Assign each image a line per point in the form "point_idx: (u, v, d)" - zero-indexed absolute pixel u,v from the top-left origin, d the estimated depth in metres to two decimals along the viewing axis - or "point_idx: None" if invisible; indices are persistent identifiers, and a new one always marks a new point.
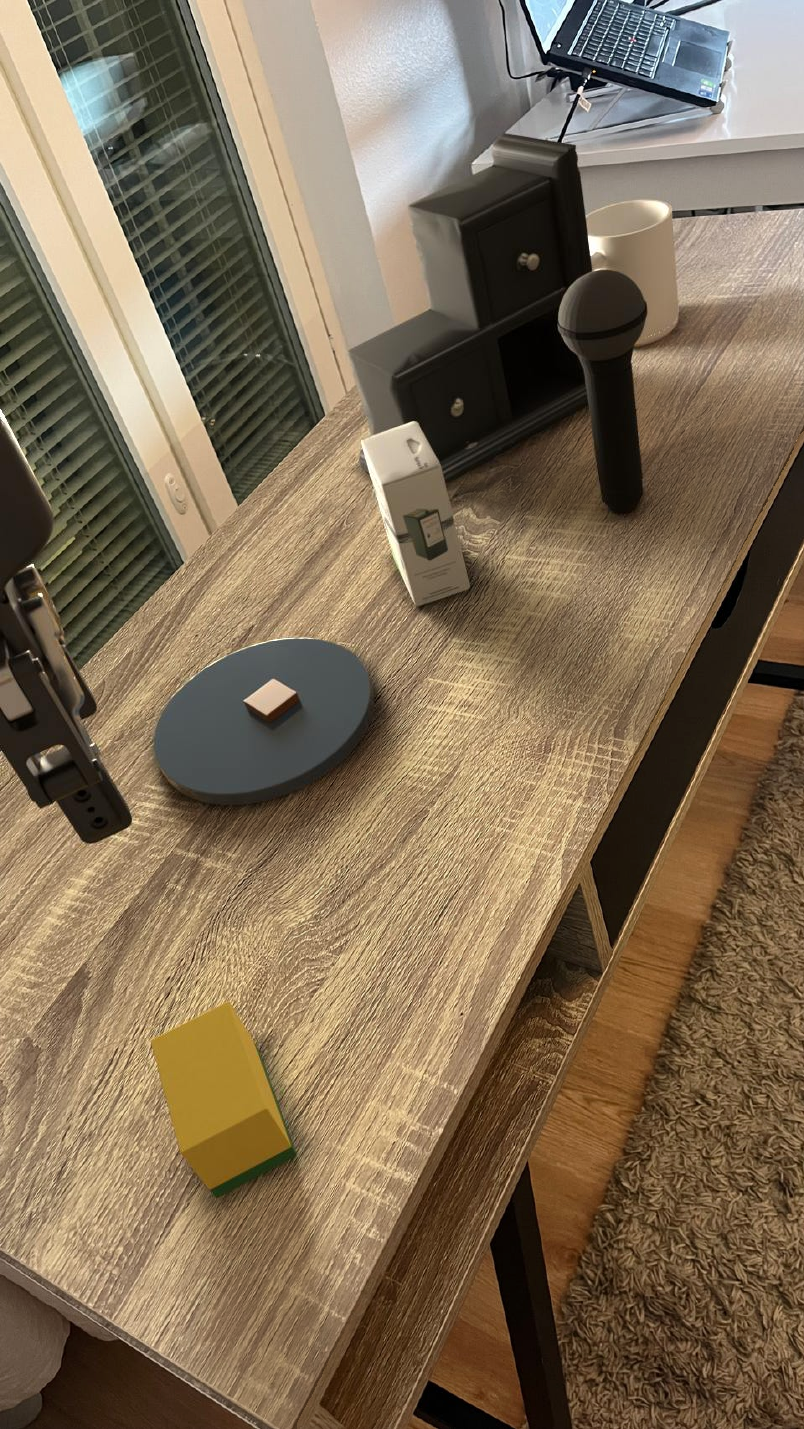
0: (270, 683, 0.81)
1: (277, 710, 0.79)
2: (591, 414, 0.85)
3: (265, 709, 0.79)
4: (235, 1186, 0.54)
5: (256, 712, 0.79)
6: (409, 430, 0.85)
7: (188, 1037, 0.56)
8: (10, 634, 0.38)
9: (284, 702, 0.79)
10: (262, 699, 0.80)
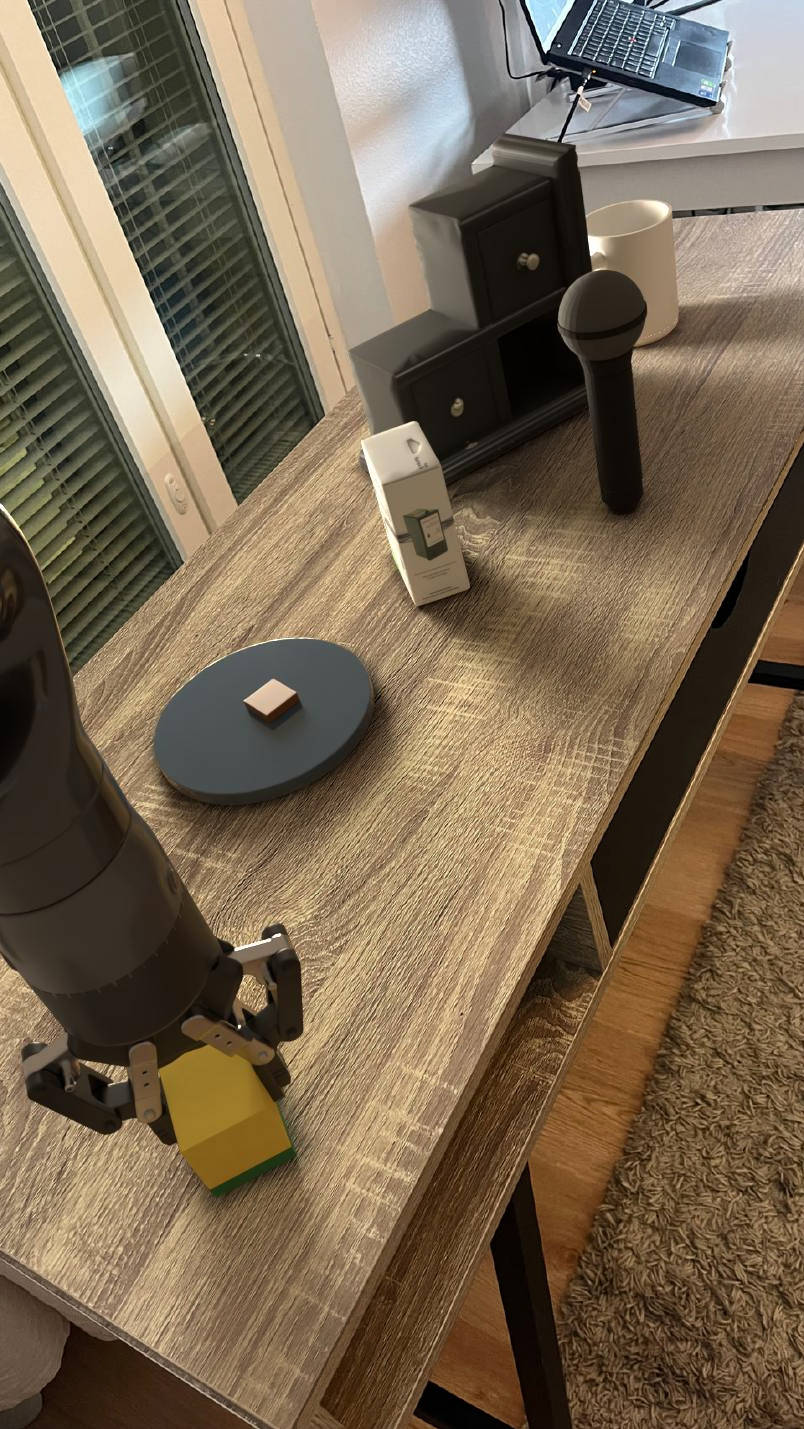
0: (270, 683, 0.81)
1: (277, 710, 0.79)
2: (591, 414, 0.85)
3: (265, 709, 0.79)
4: (235, 1186, 0.54)
5: (256, 712, 0.79)
6: (409, 430, 0.85)
7: None
8: (68, 1045, 0.48)
9: (284, 702, 0.79)
10: (262, 699, 0.80)
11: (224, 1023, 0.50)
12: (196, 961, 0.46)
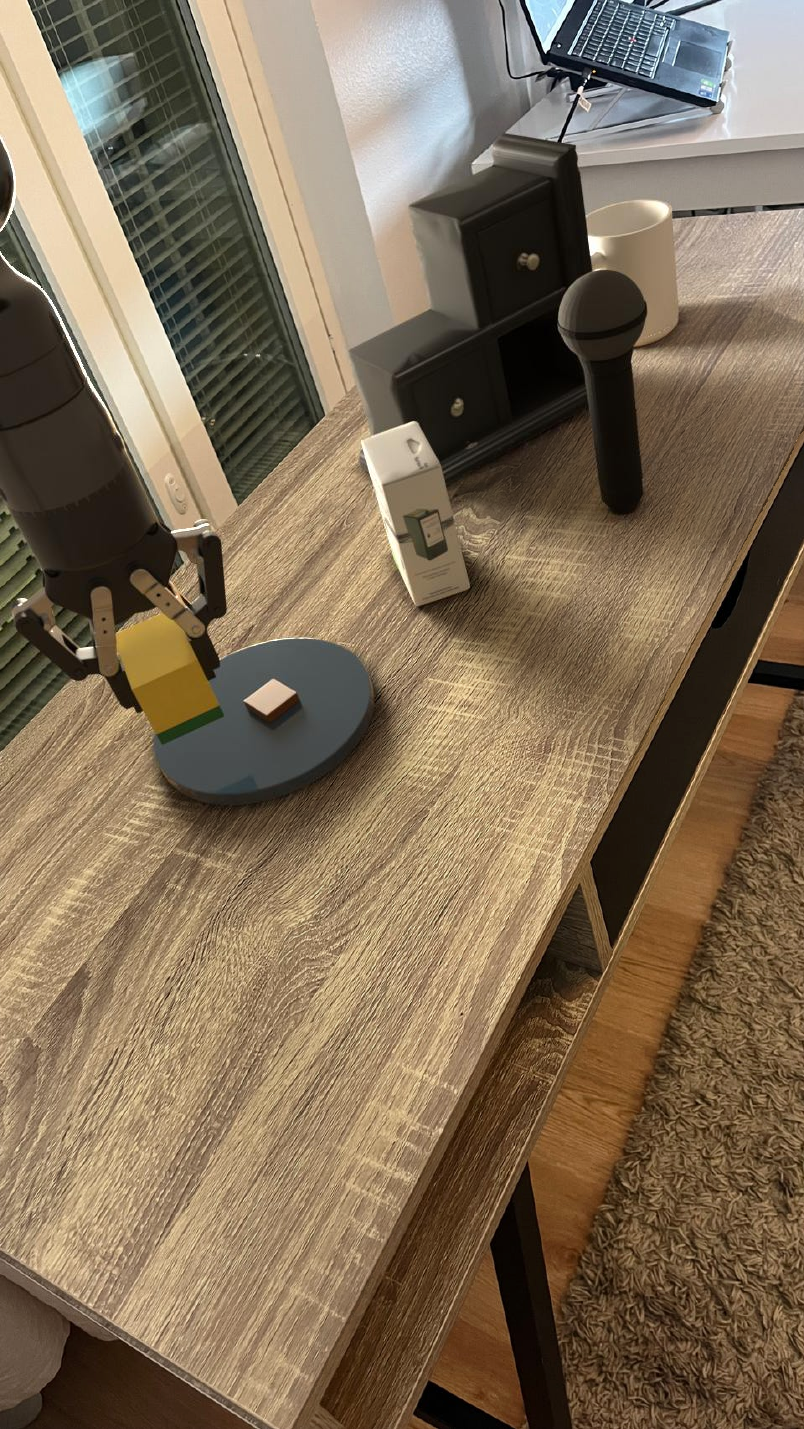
0: (270, 683, 0.81)
1: (277, 710, 0.79)
2: (591, 414, 0.85)
3: (265, 709, 0.79)
4: (176, 736, 0.71)
5: (256, 712, 0.79)
6: (409, 430, 0.85)
7: (141, 630, 0.72)
8: (46, 589, 0.65)
9: (284, 702, 0.79)
10: (262, 699, 0.80)
11: (163, 586, 0.67)
12: (138, 510, 0.62)
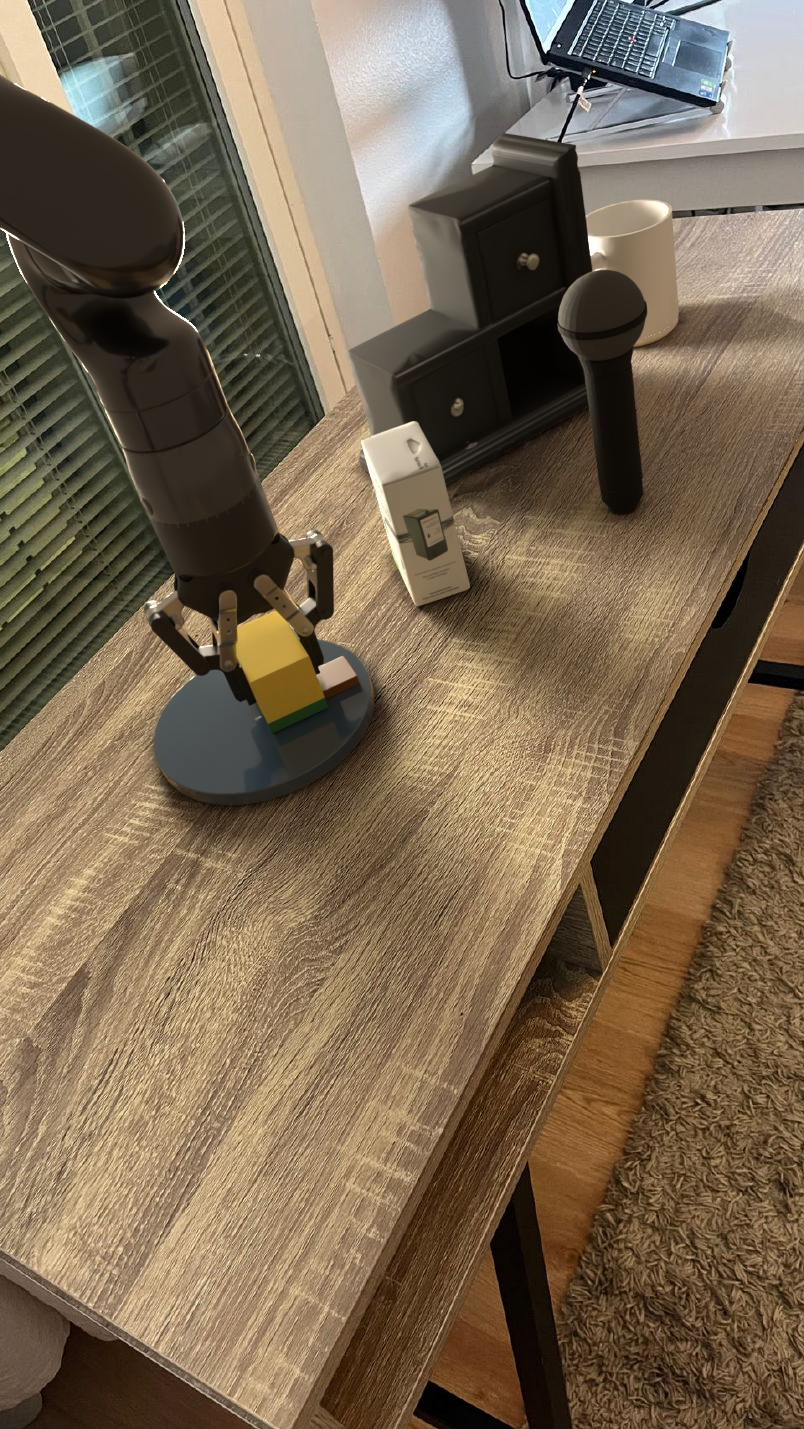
0: (338, 659, 0.81)
1: (333, 689, 0.79)
2: (591, 414, 0.85)
3: (323, 685, 0.79)
4: (285, 725, 0.78)
5: None
6: (409, 430, 0.85)
7: (251, 629, 0.79)
8: (178, 592, 0.72)
9: (342, 683, 0.79)
10: (325, 674, 0.80)
11: (281, 590, 0.74)
12: (266, 522, 0.69)
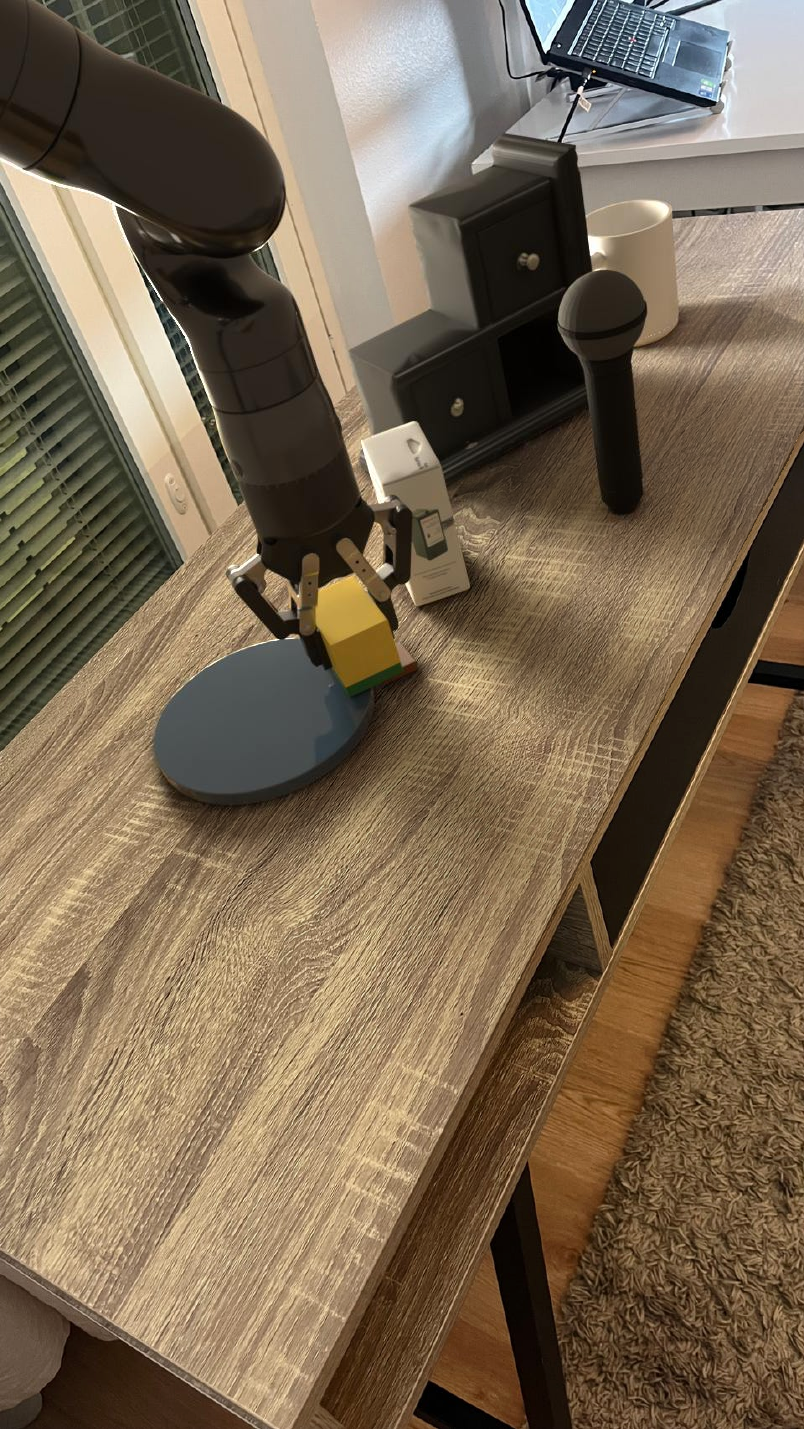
0: (396, 646, 0.83)
1: None
2: (591, 414, 0.85)
3: None
4: (362, 689, 0.79)
5: None
6: (409, 430, 0.85)
7: (326, 595, 0.80)
8: (262, 556, 0.73)
9: None
10: None
11: (361, 554, 0.75)
12: (351, 484, 0.70)
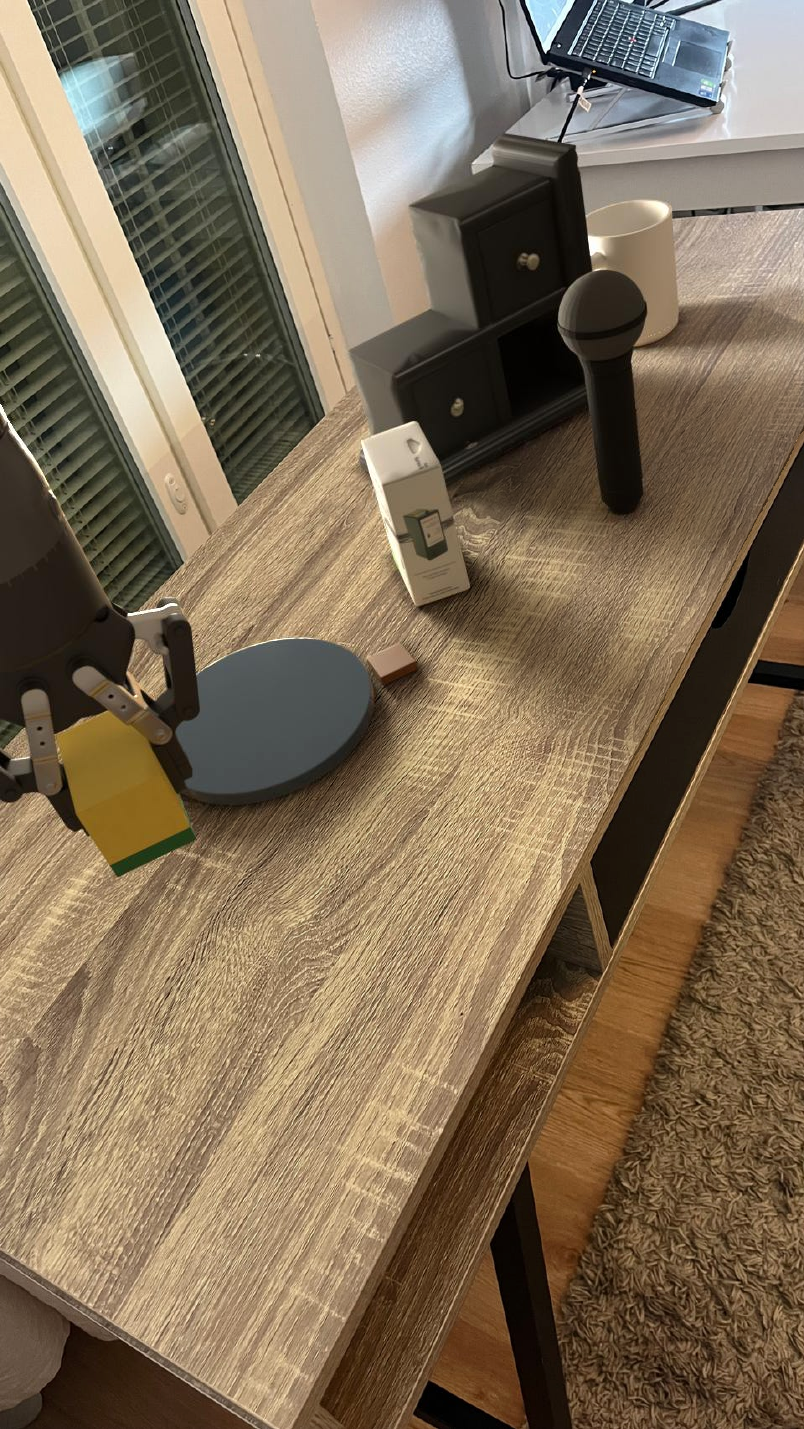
0: (396, 646, 0.83)
1: (393, 674, 0.81)
2: (591, 414, 0.85)
3: (382, 671, 0.81)
4: (135, 866, 0.56)
5: (374, 671, 0.82)
6: (409, 430, 0.85)
7: (92, 730, 0.57)
8: None
9: (401, 668, 0.81)
10: (383, 660, 0.82)
11: (117, 684, 0.52)
12: (80, 594, 0.48)
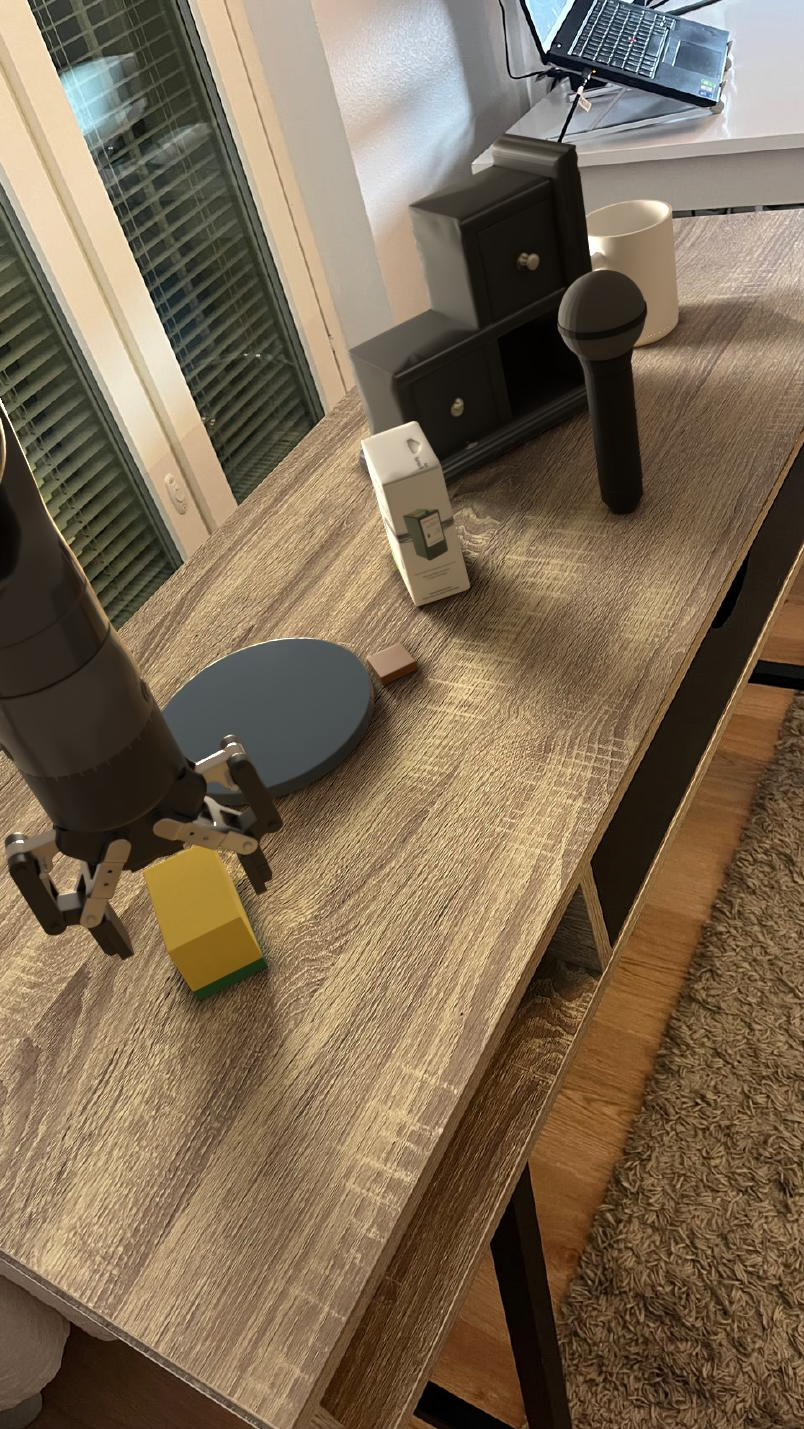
0: (396, 646, 0.83)
1: (393, 674, 0.81)
2: (591, 414, 0.85)
3: (382, 671, 0.81)
4: (215, 991, 0.63)
5: (374, 671, 0.82)
6: (409, 430, 0.85)
7: (175, 868, 0.65)
8: (56, 841, 0.56)
9: (401, 668, 0.81)
10: (383, 660, 0.82)
11: None
12: (164, 762, 0.54)
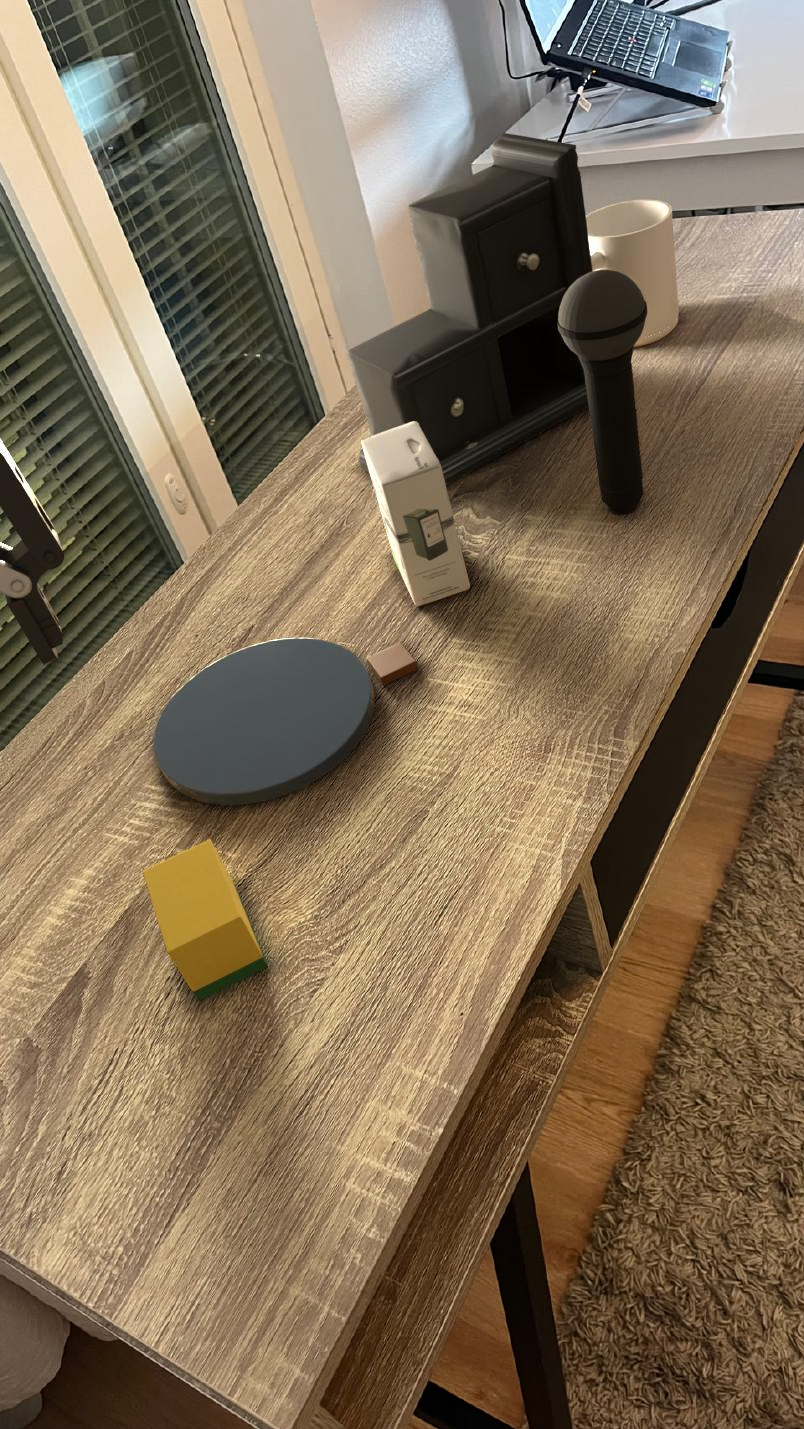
0: (396, 646, 0.83)
1: (393, 674, 0.81)
2: (591, 414, 0.85)
3: (382, 671, 0.81)
4: (215, 991, 0.63)
5: (374, 671, 0.82)
6: (409, 430, 0.85)
7: (175, 868, 0.65)
8: None
9: (401, 668, 0.81)
10: (383, 660, 0.82)
11: None
12: None
